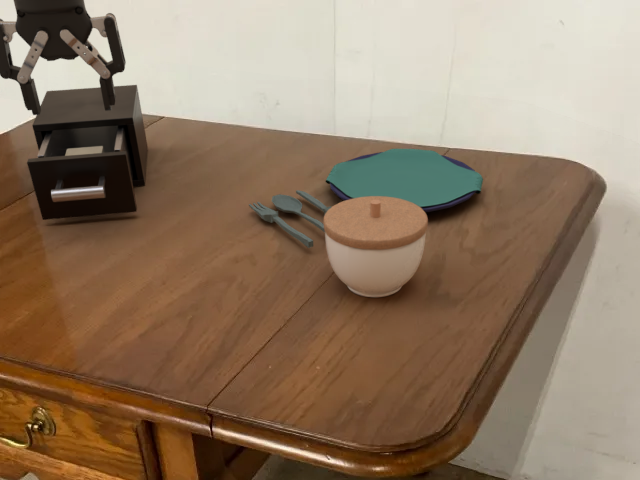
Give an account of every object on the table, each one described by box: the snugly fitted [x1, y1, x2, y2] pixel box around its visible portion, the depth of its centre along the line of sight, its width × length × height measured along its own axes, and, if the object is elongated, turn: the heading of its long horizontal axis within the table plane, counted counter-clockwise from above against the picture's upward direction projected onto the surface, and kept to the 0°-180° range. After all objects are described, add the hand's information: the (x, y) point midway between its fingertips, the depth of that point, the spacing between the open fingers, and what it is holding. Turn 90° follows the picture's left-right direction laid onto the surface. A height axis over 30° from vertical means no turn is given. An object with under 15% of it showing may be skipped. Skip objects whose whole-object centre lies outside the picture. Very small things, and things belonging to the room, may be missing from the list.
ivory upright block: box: [65, 146, 104, 156], centre depth 99 cm, size 5×6×5 cm
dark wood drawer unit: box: [31, 84, 149, 188], centre depth 108 cm, size 15×13×9 cm
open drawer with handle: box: [26, 125, 138, 221], centre depth 98 cm, size 18×12×7 cm, turn 9°
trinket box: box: [323, 196, 429, 298], centre depth 81 cm, size 11×11×9 cm
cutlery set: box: [248, 148, 484, 249], centre depth 100 cm, size 20×30×2 cm, turn 122°
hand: (73, 110), depth 94 cm, fingers open, 8 cm apart
